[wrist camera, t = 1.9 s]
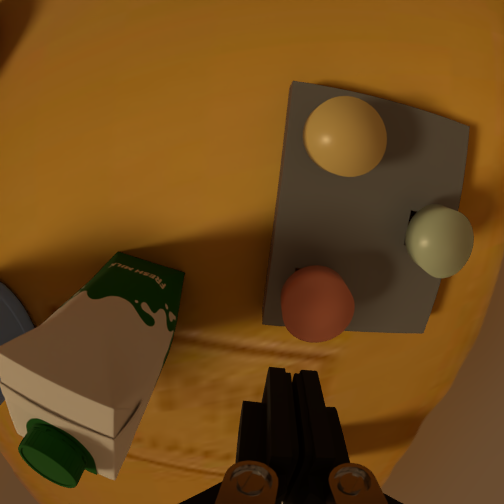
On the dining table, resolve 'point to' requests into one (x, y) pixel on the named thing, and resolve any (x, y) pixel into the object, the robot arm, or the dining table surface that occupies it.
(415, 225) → the pale green ball
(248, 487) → the robot arm
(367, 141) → the tan rounded piece
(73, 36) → the dining table surface
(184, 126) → the dining table surface
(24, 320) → the water jug
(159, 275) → the milk carton
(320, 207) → the plate
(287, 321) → the red rounded lump
